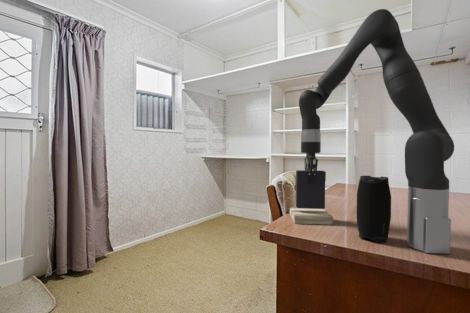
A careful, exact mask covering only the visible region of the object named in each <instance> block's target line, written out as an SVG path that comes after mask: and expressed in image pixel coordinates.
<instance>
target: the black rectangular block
mask: <svg viewBox="0 0 470 313" xmlns="http://www.w3.org/2000/svg"><path fill="white" fill-rule="evenodd" d="M326 174H327V172H326V171H325V170H317V174H315V184H314V185H310V184H309V174H308V170H305V169H304V170H300V169H299V170H296V171H295V208H309V209H324V210H326V209H325V208H326V180H327V179H326V178H327V177H326Z"/></svg>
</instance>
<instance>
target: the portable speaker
mask: <svg viewBox="0 0 470 313" xmlns="http://www.w3.org/2000/svg"><path fill="white" fill-rule="evenodd" d="M389 183H390V182H389V176H383V175H382V176H380V177H379V176H378V177H377V176H371V175H360V176H359V180H358V186H357V191H356V223H357V230H358V237H359V238H360V239H361V240H364V239H369V240H372V241H373V242H374V243H376V244H384V243H386V242H387V239H388V238H389V232H390V227H391V220H392V195H391V194H392V193H391V189H390V184H389Z"/></svg>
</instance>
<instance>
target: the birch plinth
mask: <svg viewBox="0 0 470 313" xmlns="http://www.w3.org/2000/svg"><path fill="white" fill-rule="evenodd" d="M289 216H290V218H291V220H292V221H293V223H294V224H295V225H296V224H298V225H323V226H325V225H326V226H327V225H329V226H330V225H332V226H333V225H334V222H333V221H334V216H333V215H331V214H330V213H329V212H328V211H327V210H326V209H309V208H297V207H292V206H291V207H289Z"/></svg>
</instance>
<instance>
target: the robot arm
mask: <svg viewBox="0 0 470 313" xmlns="http://www.w3.org/2000/svg"><path fill="white" fill-rule="evenodd" d="M369 45H371V46H372V48H374V50H375V52H376V53H377V55H378V58H379V60H380V63H381V67H382V78H383V83H384V85H385V89H386V91H387V94H388V96H389V98H390V100H391V101H392V103H393V105H394V106H395V107H396V109H397V110H398V111H399V112H400V113H401V114H402V115H403V118H405V119H406V121H407V123H408V124H409V126H410V128H411V131H412V134H411V135H410V136H409V137H408V139H407V140H406V142H405V146H404V173H405V176H406V179H407V215H406V216H407V217H406V218H407V219H406V225H407V226H406V244H407V246H408V247H410V248H412V249H414V250H418V251H419V252H420V251H422V252H424V253H425V254H445V255H446V254H447V255H451V240H452V238H451V232H452V230H451V228H452V220H451V218H450V217H449V210H450V209H449V207H450V206H449V205H450V204H449V203H450V180H449V178H448V177H447V175H446V172H445V162H446V161H448V160H449V159H451V157H452V156H453V153H455V152H454V151H455V143H454V140H453V138H452V137H451V135H450V133H449V132H448V130H447V128H446V127H445V125H444V123H443V122H442V120H441V119H440V117H439V116H438V114H437V111H436V109H435V107H434V103H433V100H432V98H431V96H430V94H429V92H428V90H427V87H426V84H425V81H424V79H423V77H422V75H421V72H420V70H419V69H418V67H417V65H416V63H415V61H414V60H413V58H412V56H411V55H410V54H409V52H408V51H407V49H406V46H405V44H404V40H403V38H402V32H401V30H400V26H399V22H398V20H397V19H396V18H395V16H394V15H393V13H391V12H390V10H388V9H386V8H380V9H376V10H375V11H373V12H372V13H370V14H369V15H368V16H367V17H366V18H365V19H364V20H363V22H362V23H361V24H360V25H359V28H357V31H355V33H354V34H353V36H352V37H351V39H350V41H348V43H347V44H346V46H345V47H344V49H343V51H341V53H340V55H339V56H338V57H337V59H336V60H334V61H333V63H332V64H331V65H330V66H329V67H328V68H327V70H326V71H324V73H323V74H322V75H321V76H320V77H319V78H318V80H317V87H316V89H315V90H312V89H306V90H304V91H302V93H301V94H300V96H299V99H298V107H299V111H300V112H299V113H300V116H301V135H300V153H301V154H306V155H305V157H304V158H303V161H304V170H308V174H309V184H310V185H314V184H315V174H317V171H318V162H319V160H318V158H317V157H316V154H320V153H321V151H322V150H321V149H322V148H321V146H322V144H321V143H322V142H321V139H322V138H321V134H322V133H321V117H320V116H319V115H318V113H317V110H319V109H320V108H321V107H322V106H323V105H324V104H325V103H326V102H327V100H328V99H329V97H330V96H331V94H332V93H333V91H334V90H336V88H337V87H339V86H340V85H341V83H342V82H343V81H345V79H346V78H347V76H348V75H349V73H350V72H351V70H352V69H353V67H354V65H355V64H356V61H357V59H358V58H359V57H360V55H361V54H362V53H363V51H364V50H365V49H366V48H367V47H368V46H369Z"/></svg>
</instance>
